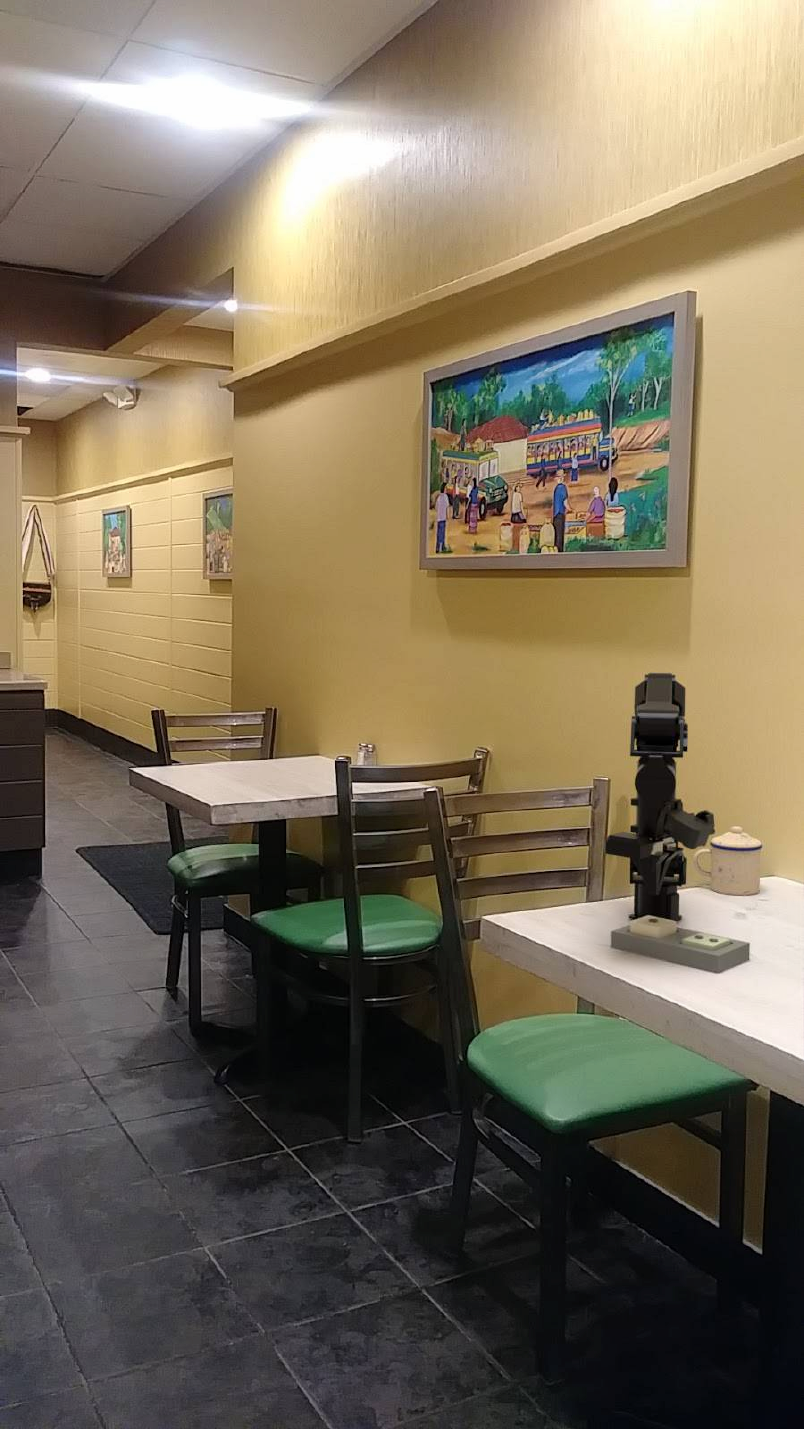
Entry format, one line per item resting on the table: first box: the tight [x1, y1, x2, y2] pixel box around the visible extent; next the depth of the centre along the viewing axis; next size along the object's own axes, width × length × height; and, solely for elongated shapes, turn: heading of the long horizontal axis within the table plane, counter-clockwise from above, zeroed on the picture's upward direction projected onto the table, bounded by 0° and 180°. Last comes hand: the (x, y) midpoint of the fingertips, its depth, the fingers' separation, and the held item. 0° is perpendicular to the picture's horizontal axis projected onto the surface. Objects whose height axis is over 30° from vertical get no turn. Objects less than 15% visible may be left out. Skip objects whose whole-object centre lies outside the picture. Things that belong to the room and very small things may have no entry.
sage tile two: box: [682, 932, 732, 951], centre depth 169 cm, size 5×5×2 cm
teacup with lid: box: [693, 826, 763, 896], centre depth 212 cm, size 12×9×12 cm
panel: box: [610, 924, 751, 974], centre depth 172 cm, size 18×9×2 cm, turn 45°
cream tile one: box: [629, 915, 678, 939], centre depth 175 cm, size 5×5×2 cm
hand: (654, 894), depth 175 cm, fingers closed
